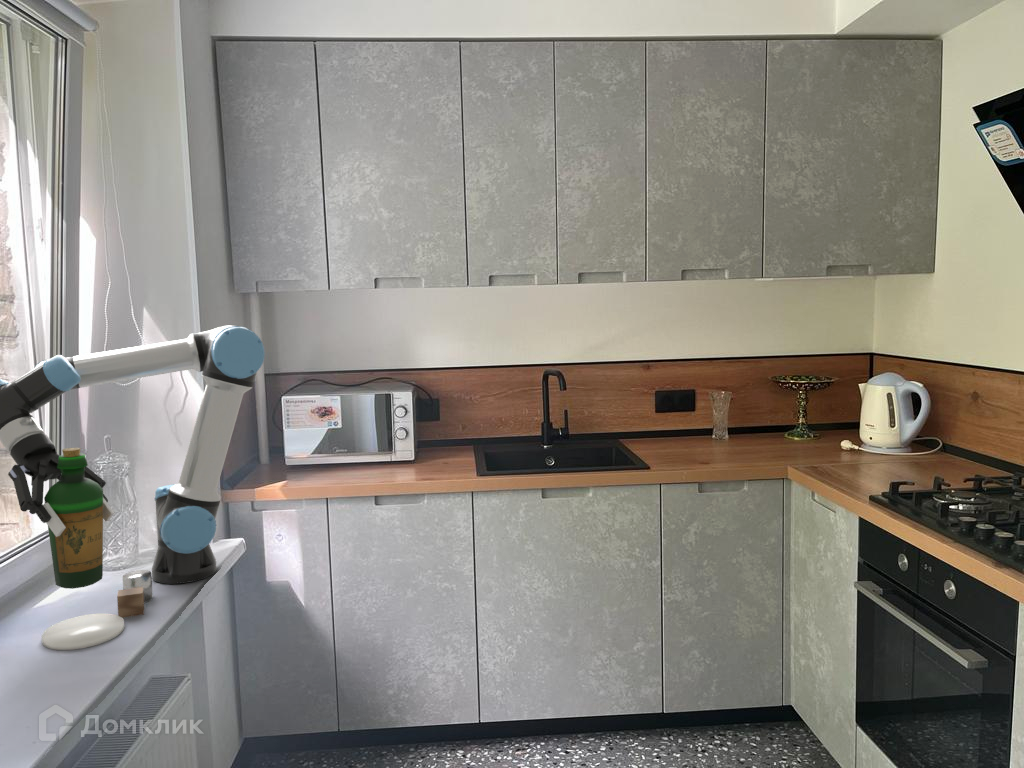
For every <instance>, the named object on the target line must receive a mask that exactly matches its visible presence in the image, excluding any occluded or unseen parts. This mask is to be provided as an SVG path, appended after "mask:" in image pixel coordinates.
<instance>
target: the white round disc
mask: <svg viewBox="0 0 1024 768" xmlns="http://www.w3.org/2000/svg"><path fill="white" fill-rule="evenodd" d="M124 629H125V620H124V618H122V617H120V616H118V614H111V613H91V614H83V615H79V616H75V617H70V618H67V619H64V620H62V621H58V622H57V623H55V624H53V625H50V627H47V628H46V629H45V630H44V631H43V632H42V635H41V643H42V645H43V646H44V647H45V648H47V649H50V650H56V651H73V650H80V649H84V648H85V649H86V648H91V647H94V646H97V645H100V644H103V643H106V642H108V641H110V640H112V639H115V638H116V637H118V636H119V635H120V634H122V632H123V631H124Z"/></svg>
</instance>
